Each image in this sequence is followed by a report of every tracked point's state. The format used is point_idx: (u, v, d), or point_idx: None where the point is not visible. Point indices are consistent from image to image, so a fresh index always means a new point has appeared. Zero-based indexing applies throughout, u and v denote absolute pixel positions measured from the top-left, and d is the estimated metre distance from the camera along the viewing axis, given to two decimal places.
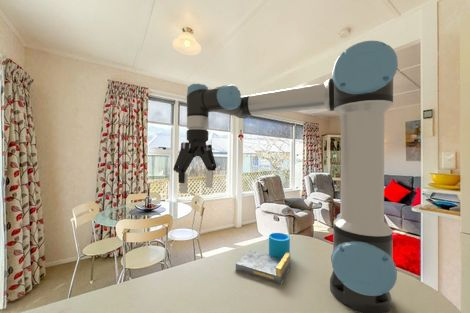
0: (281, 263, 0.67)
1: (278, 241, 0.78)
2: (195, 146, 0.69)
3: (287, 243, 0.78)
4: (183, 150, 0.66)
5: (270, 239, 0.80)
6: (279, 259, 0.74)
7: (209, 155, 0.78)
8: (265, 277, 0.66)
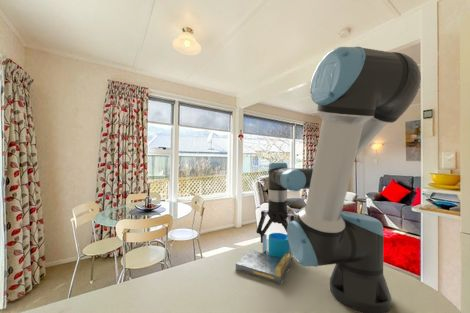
0: (281, 263, 0.67)
1: (278, 241, 0.78)
2: (271, 214, 0.84)
3: (287, 243, 0.78)
4: None
5: (270, 239, 0.80)
6: (279, 259, 0.74)
7: None
8: (265, 277, 0.66)
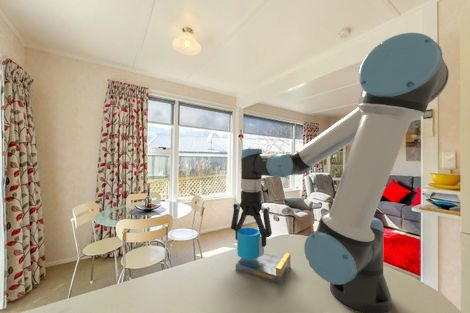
0: (281, 263, 0.67)
1: (245, 236, 0.70)
2: (243, 205, 0.75)
3: (256, 239, 0.71)
4: None
5: (238, 234, 0.73)
6: (279, 259, 0.74)
7: None
8: (265, 277, 0.66)
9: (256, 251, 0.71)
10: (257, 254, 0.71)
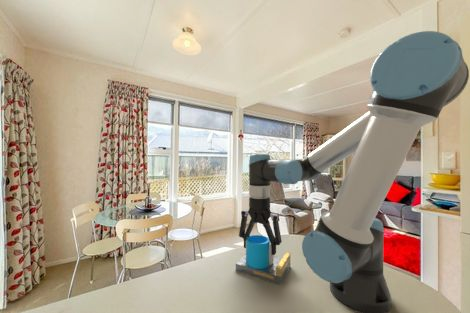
0: (281, 263, 0.67)
1: (255, 245, 0.68)
2: (252, 212, 0.74)
3: (265, 247, 0.69)
4: None
5: (247, 242, 0.71)
6: (279, 259, 0.74)
7: None
8: (265, 277, 0.66)
9: (266, 260, 0.69)
10: (267, 263, 0.69)
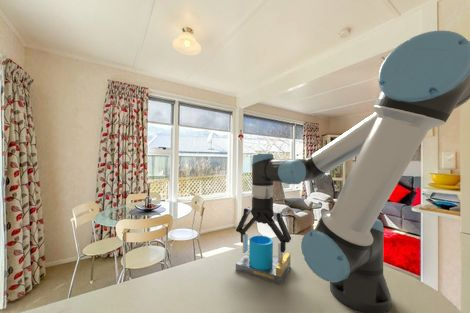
0: (281, 263, 0.67)
1: (258, 245, 0.68)
2: (254, 212, 0.73)
3: (269, 248, 0.68)
4: None
5: (250, 243, 0.70)
6: None
7: None
8: (265, 277, 0.66)
9: (269, 261, 0.68)
10: (270, 264, 0.69)
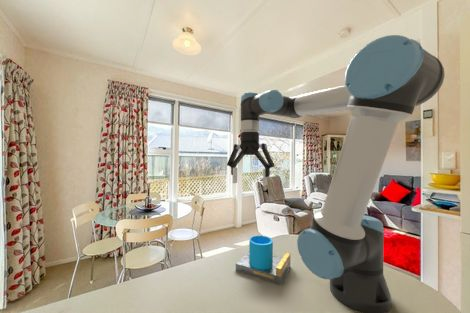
0: (281, 263, 0.67)
1: (258, 245, 0.68)
2: (243, 146, 0.84)
3: (269, 248, 0.68)
4: None
5: (250, 243, 0.70)
6: (279, 259, 0.74)
7: None
8: (265, 277, 0.66)
9: (269, 261, 0.68)
10: (270, 264, 0.69)
